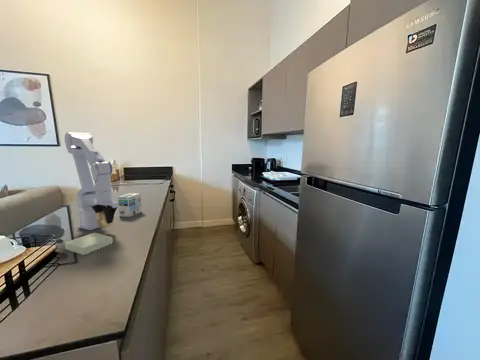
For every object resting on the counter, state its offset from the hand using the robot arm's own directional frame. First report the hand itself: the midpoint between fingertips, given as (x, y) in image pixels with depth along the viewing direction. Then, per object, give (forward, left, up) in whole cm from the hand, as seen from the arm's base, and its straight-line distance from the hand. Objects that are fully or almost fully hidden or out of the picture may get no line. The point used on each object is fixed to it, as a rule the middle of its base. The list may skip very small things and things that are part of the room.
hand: (105, 222), depth 102 cm
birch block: (0, 0, -2) cm, 2 cm away
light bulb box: (-16, +25, -5) cm, 30 cm away
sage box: (+6, -11, -6) cm, 14 cm away
